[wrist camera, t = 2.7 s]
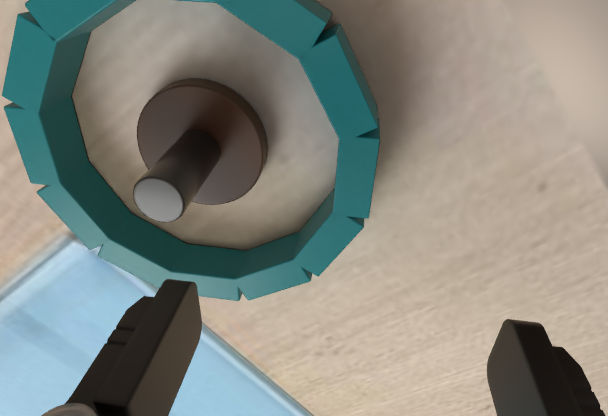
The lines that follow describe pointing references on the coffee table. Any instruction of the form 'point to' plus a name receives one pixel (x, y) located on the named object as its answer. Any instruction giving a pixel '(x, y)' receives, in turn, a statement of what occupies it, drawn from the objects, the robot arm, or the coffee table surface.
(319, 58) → the ring
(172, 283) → the robot arm
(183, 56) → the coffee table surface
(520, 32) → the coffee table surface
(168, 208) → the peg stand
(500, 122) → the coffee table surface
